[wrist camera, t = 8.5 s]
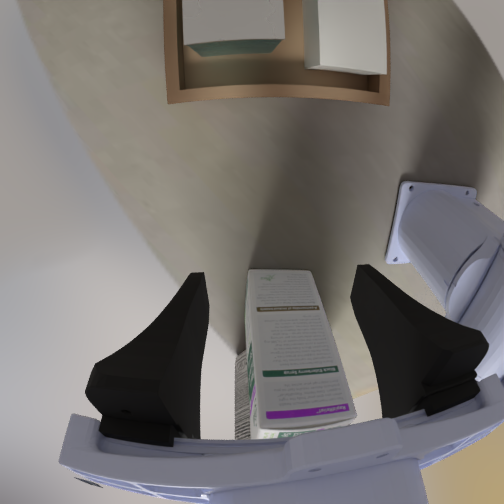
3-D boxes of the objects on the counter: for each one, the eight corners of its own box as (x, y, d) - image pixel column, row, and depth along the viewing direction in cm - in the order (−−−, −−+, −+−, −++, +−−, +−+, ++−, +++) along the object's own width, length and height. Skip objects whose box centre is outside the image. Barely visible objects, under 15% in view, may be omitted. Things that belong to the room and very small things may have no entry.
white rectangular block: (356, -10, 12) (380, -26, 9) (360, 74, 16) (386, 74, 12) (300, -19, 12) (314, -40, 9) (304, 69, 16) (319, 64, 12)
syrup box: (246, 267, 25) (252, 431, 13) (313, 268, 25) (359, 421, 13) (244, 314, 28) (247, 458, 16) (303, 314, 28) (331, 451, 16)
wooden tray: (369, -24, 11) (383, -34, 9) (373, 103, 17) (389, 106, 15) (172, -31, 11) (164, -43, 9) (176, 102, 17) (167, 104, 15)
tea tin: (268, -4, 13) (280, -38, 8) (271, 54, 15) (285, 38, 10) (199, 0, 13) (182, -32, 8) (201, 57, 15) (184, 45, 10)
